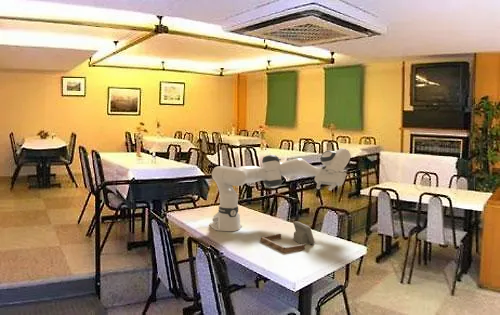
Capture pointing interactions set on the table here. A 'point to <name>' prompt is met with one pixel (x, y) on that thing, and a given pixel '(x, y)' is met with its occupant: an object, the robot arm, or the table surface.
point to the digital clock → (303, 233)
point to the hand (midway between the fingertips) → (323, 189)
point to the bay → (283, 249)
